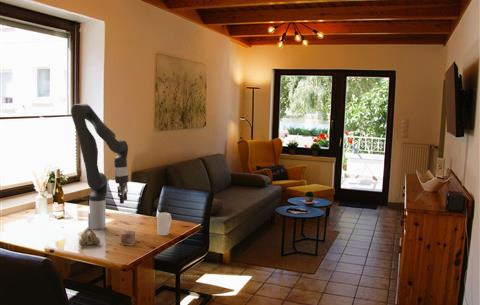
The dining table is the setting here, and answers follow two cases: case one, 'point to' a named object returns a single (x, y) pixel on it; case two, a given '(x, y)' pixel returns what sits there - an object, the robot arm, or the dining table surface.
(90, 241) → the ceramic sculpture
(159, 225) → the mug
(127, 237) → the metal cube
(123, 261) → the dining table surface
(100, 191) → the robot arm
